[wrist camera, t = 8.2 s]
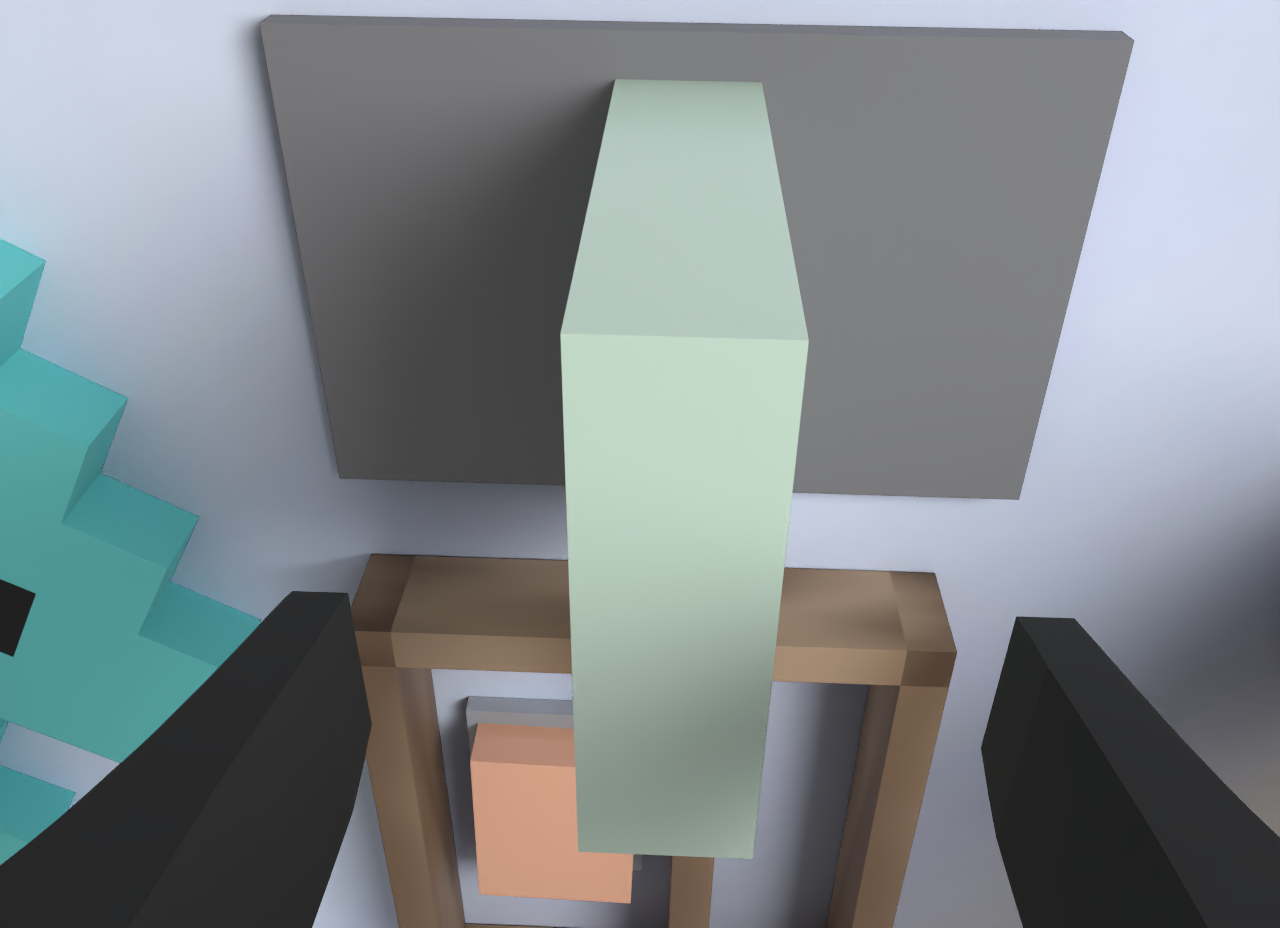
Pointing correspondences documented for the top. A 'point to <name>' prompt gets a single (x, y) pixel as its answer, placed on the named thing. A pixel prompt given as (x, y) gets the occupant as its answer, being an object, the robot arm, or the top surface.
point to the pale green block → (679, 467)
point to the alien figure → (84, 575)
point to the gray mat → (814, 204)
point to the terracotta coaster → (536, 819)
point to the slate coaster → (523, 720)
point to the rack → (541, 642)
